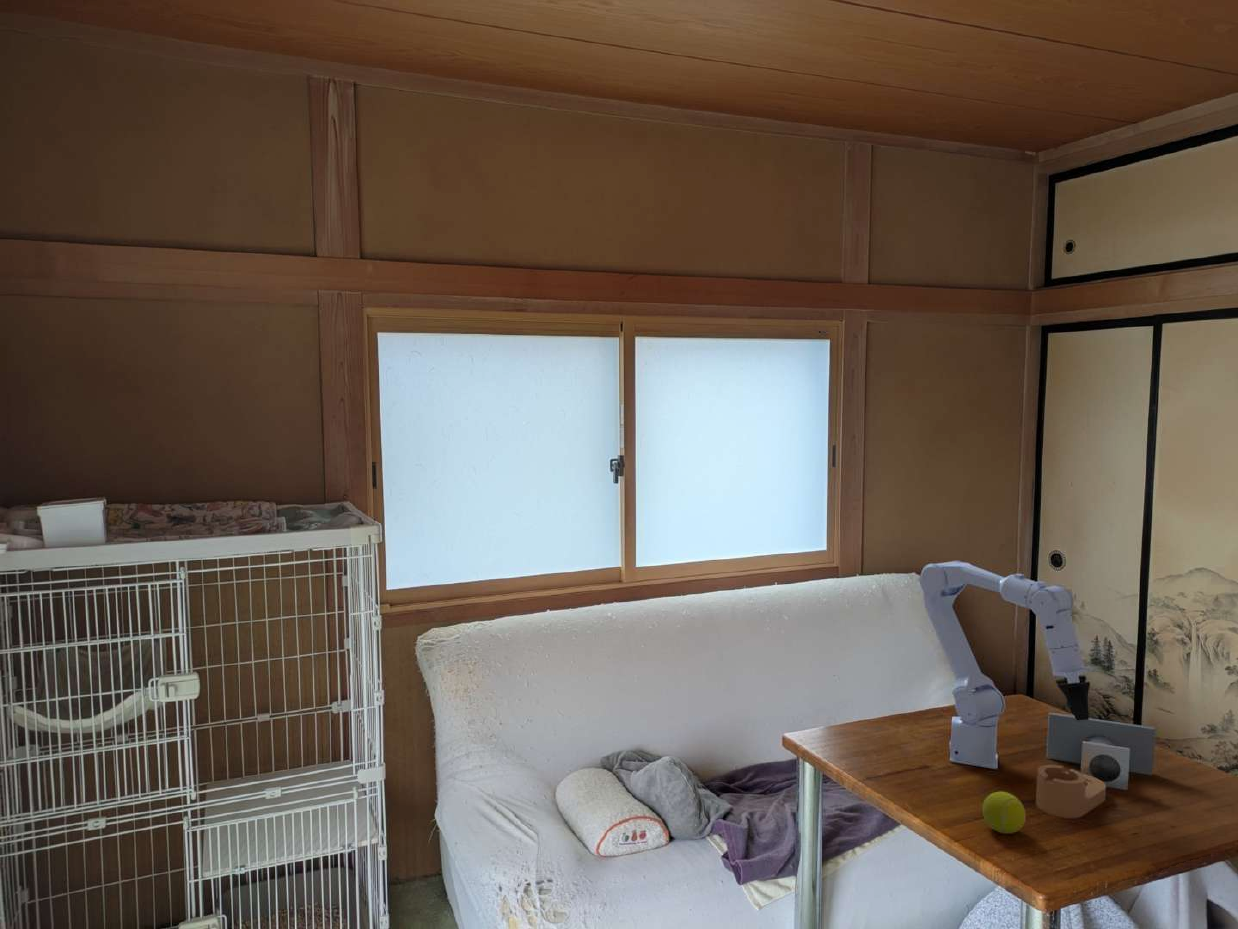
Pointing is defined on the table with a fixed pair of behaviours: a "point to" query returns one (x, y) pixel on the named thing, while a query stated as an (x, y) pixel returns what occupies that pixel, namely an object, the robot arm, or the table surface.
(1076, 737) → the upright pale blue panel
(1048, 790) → the bracket
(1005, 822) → the tennis ball
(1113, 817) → the table surface
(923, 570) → the robot arm
